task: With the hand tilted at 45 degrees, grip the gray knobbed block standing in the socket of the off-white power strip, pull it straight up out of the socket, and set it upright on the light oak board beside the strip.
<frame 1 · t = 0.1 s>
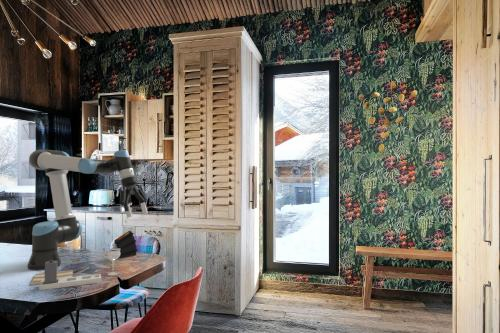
hand: (137, 215, 176), 28 cm above the table, tool tilted 20°, fingers open, 13 cm apart
gray knobbed block: (50, 286, 144), resting on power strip
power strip: (71, 284, 148), on the table
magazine: (125, 256, 199), on the table
wineglass: (112, 274, 165), on the table
oak board: (53, 279, 156), on the table
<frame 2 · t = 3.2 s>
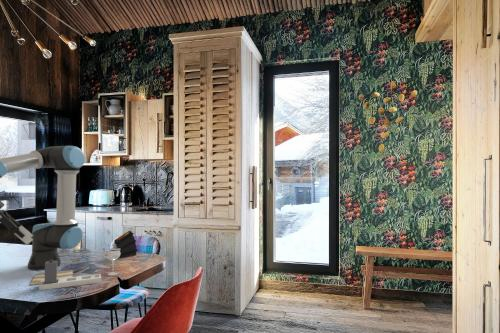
hand: (30, 239, 141), 21 cm above the table, tool tilted 45°, fingers open, 13 cm apart
nothing on the table moved.
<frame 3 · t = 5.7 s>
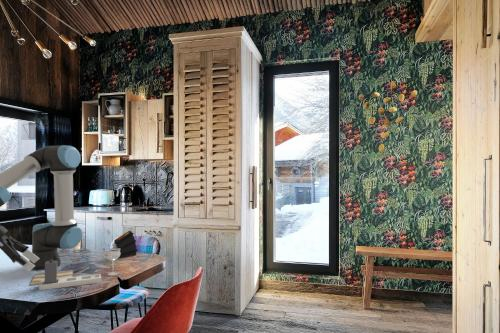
hand: (34, 264, 141), 11 cm above the table, tool tilted 45°, fingers open, 13 cm apart
nothing on the table moved.
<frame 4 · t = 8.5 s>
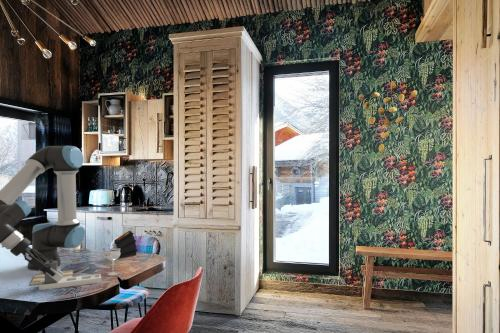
hand: (60, 277, 146), 4 cm above the table, tool tilted 45°, fingers closed on gray knobbed block, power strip, 4 cm apart
gray knobbed block: (50, 286, 144), point 1 cm above the table, touching gripper, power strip
everything else where it was.
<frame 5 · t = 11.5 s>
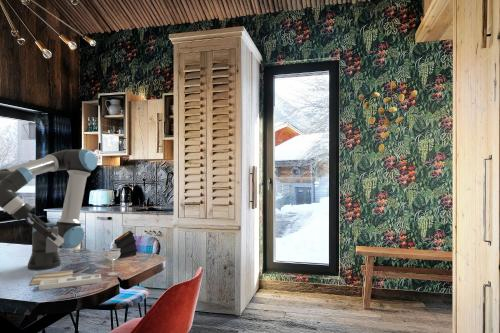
hand: (61, 243, 150), 18 cm above the table, tool tilted 45°, fingers closed on gray knobbed block, 4 cm apart
gray knobbed block: (51, 251, 149), point 15 cm above the table, touching gripper
everything else where it was.
when the fingers open (6 cm above the table, at t = 14.6 s): gray knobbed block drops 1 cm, resting on oak board.
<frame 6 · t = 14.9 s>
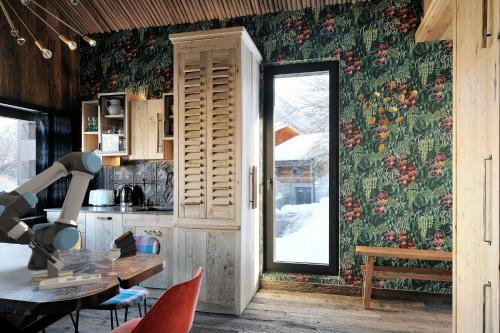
hand: (61, 264, 157), 6 cm above the table, tool tilted 45°, fingers open, 8 cm apart
gray knobbed block: (53, 276, 156), point 1 cm above the table, touching oak board
everything else where it was.
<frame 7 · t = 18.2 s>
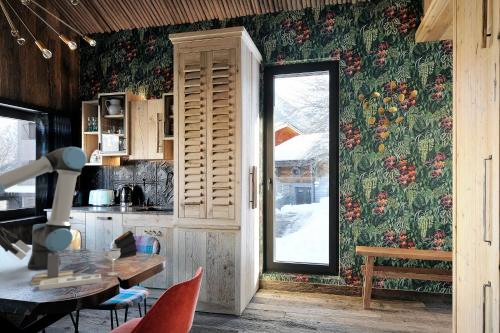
hand: (26, 254, 151), 13 cm above the table, tool tilted 45°, fingers open, 13 cm apart
nothing on the table moved.
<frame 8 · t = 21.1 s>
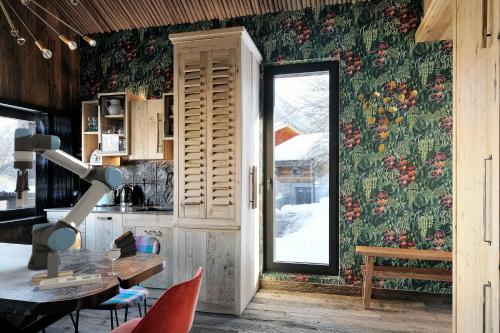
hand: (22, 205, 157), 35 cm above the table, tool pointing down, fingers open, 13 cm apart
nothing on the table moved.
at the end: gray knobbed block inside the target area on the oak board (0.1 cm from its centre), point 1.2 cm above the oak board's base; gray knobbed block tilted 0°; the gripper is holding nothing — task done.
